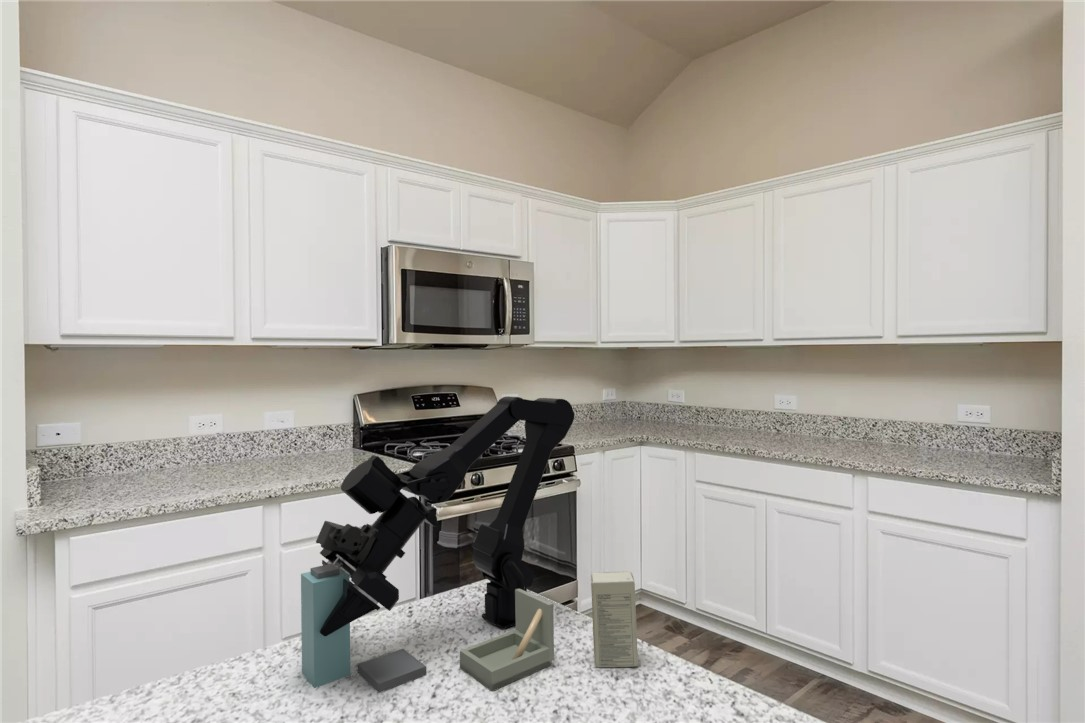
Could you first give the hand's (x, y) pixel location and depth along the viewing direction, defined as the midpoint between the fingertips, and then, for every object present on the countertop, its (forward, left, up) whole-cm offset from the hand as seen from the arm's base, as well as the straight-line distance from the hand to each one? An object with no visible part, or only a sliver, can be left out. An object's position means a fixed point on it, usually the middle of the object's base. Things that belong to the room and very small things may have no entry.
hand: (315, 625), depth 83 cm
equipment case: (-21, +15, -7) cm, 27 cm away
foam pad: (-8, +6, -7) cm, 13 cm away
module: (-1, 0, -7) cm, 7 cm away
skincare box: (-34, +24, -7) cm, 43 cm away
